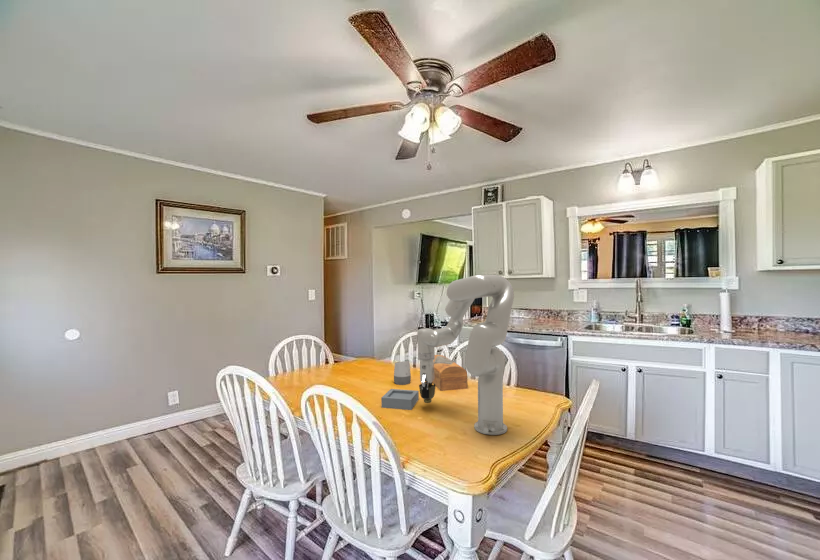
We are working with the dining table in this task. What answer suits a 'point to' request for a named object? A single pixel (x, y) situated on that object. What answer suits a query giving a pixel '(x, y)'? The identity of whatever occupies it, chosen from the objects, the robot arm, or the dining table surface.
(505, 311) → the robot arm
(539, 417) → the dining table surface
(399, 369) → the smart speaker
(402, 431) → the dining table surface
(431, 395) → the cup
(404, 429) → the dining table surface
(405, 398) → the grey square tray
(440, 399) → the dining table surface
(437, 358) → the wooden box
